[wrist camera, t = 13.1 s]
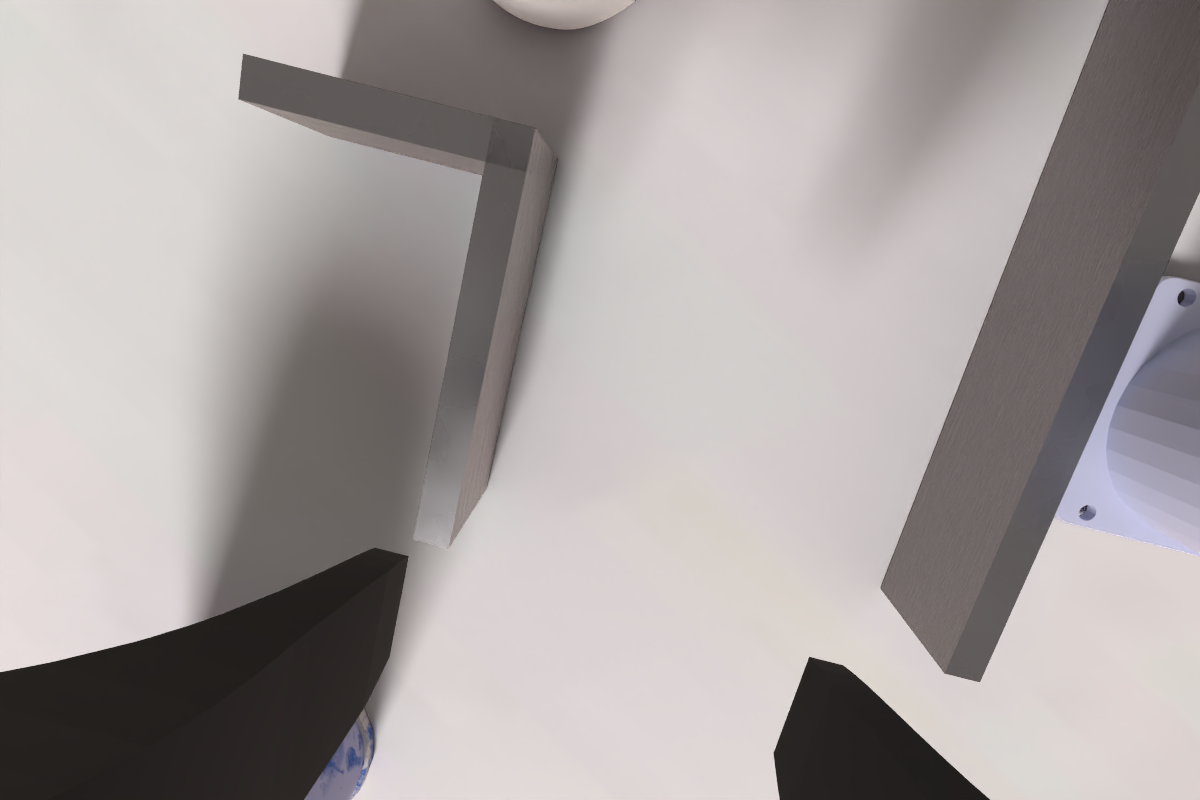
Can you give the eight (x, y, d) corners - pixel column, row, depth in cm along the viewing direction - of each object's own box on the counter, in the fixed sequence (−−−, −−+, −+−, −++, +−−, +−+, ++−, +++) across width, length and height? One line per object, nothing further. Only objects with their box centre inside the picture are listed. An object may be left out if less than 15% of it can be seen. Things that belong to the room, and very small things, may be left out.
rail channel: (1274, -313, 16) (1526, -537, 11) (908, 595, 21) (979, 682, 17) (420, -534, 15) (335, -851, 11) (287, 439, 21) (198, 485, 17)
